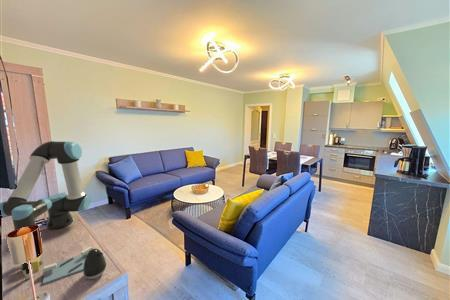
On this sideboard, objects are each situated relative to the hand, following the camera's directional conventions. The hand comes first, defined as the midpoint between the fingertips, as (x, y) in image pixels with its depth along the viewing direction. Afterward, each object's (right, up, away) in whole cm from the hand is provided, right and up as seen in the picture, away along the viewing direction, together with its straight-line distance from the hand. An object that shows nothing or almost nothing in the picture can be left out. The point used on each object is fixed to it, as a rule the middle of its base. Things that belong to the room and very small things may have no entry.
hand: (32, 268), depth 105 cm
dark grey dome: (+36, -2, -1) cm, 36 cm away
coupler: (0, 0, 0) cm, 0 cm away
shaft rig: (+19, 0, +3) cm, 19 cm away
